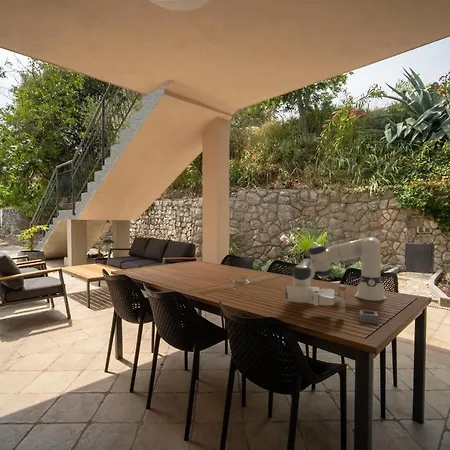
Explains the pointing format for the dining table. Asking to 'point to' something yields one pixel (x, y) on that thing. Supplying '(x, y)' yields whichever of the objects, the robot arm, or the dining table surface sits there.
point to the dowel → (343, 294)
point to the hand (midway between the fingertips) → (343, 297)
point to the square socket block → (368, 316)
